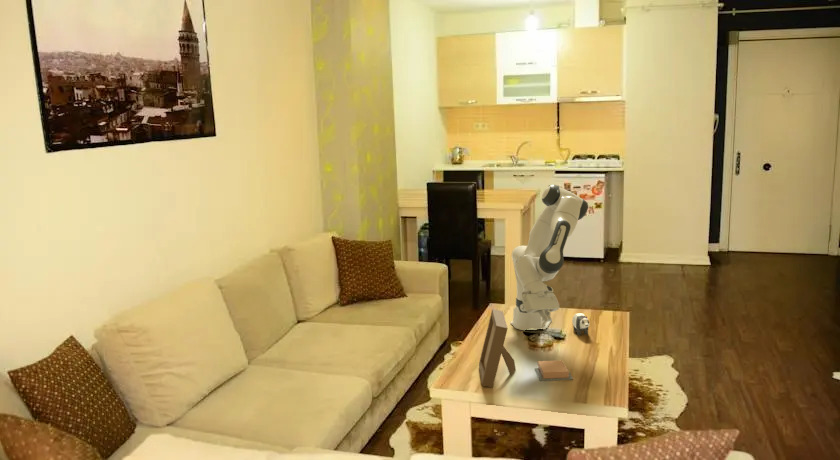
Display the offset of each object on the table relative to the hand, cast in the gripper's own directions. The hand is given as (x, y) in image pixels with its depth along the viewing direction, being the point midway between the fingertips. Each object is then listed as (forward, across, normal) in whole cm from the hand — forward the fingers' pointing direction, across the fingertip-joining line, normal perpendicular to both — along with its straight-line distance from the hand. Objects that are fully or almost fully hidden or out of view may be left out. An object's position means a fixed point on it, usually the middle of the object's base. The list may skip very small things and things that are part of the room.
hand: (548, 321), depth 287 cm
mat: (+21, -5, +4) cm, 22 cm away
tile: (+16, -1, +7) cm, 17 cm away
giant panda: (+2, +43, +14) cm, 45 cm away
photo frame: (+15, -21, +19) cm, 32 cm away
